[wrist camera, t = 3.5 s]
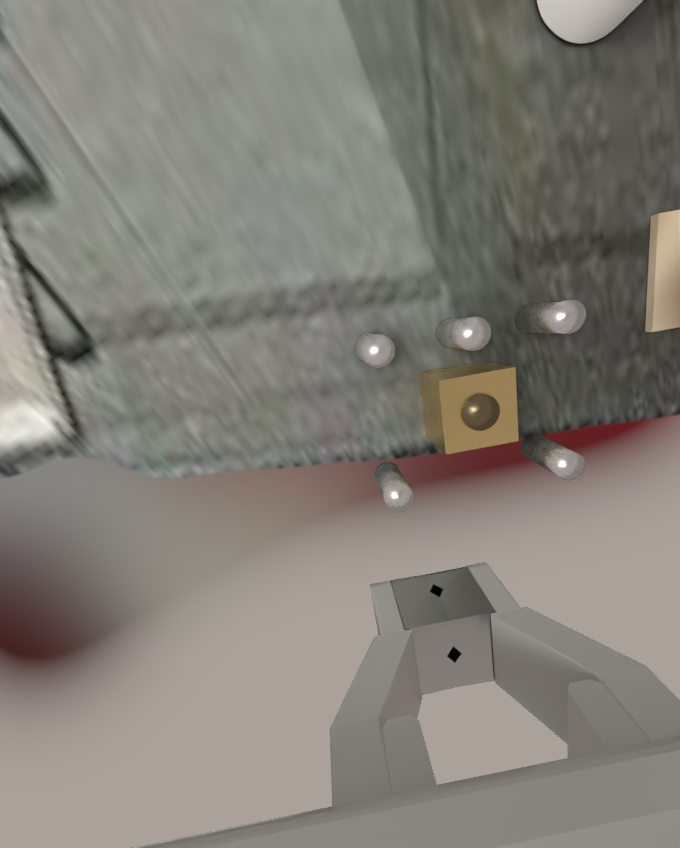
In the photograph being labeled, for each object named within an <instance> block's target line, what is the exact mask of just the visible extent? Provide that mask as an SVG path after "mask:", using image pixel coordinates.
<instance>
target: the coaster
mask: <svg viewBox="0 0 680 848" xmlns="http://www.w3.org/2000/svg"><path fill="white" fill-rule="evenodd" d="M678 327H680V210H675V211H670V212H664V213H658V214H655V215H652V216H651V222H650V243H649V263H648V284H647V304H646V325H645V332H656V331H661V330H667V329H673V328H678Z"/></svg>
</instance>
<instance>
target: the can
mask: <svg viewBox="0 0 680 848" xmlns="http://www.w3.org/2000/svg"><path fill="white" fill-rule="evenodd" d="M642 1H643V0H537V4H538V9H539V12H540V15H541V18H542V20H543V22H544V23H545V25H546V26H547V27H548V28H549V29H550V31H552V32H553V33H554V34H555V35H557V36H558V37H560V38H561V39H563V40H565V41H568V42H572V43H580V44H582V43H590V42H593V41H596V40H598V39H601V38H602V37H604V36H606V35H607V34H609V33H610V32H611V31H612V30H613V29H615V28H616V27H617V26H618V25H619V24H620V23H621V22H622V21H623V20H624V19H625V18H626V17H627V16H628V15H629V14H630V13H631V12H632V11H633V10H634V9H635V8H636V7H637V6H638V5H639V4H640V3H641V2H642Z"/></svg>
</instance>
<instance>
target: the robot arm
mask: <svg viewBox="0 0 680 848" xmlns="http://www.w3.org/2000/svg"><path fill="white" fill-rule="evenodd" d="M370 588H371V594H372V600H373V605H374V612H375V618H376V624H377V629H378V635H379V636H375V637H374V639H373V641H372V643H371V645H370V647H369V649H368V651H367V653H366V656H365V658H364V659H363V662H362V664H361V666H360V668H359V670H358V672H357V674H356V676H355V678H354V680H353V682H352V684H351V686H350V688H349V690H348V692H347V694H346V696H345V698H344V700H343V703H342V704H341V707H340V709H339V711H338V713H337V715H336V717H335V719H334V721H333V723H332V725H331V727H330V750H331V780H332V807H328V808H323V809H318V810H313V811H308V812H303V813H298V814H294V815H289V816H284V817H279V818H274V819H269V820H265V821H259V822H255V823H250V824H245V825H240V826H235V827H230V828H225V829H221V830H216V831H211V832H206V833H201V834H196V835H191V836H187V837H182V838H177V839H172V840H167V841H163V842H158V843H153V844H148V845H143V846H138V847H133V848H680V700H679V699H678V698H677V697H676V696H675V695H674V694H673V693H672V692H671V691H670V690H669V689H668V688H667V687H666V686H665V685H664V684H663V683H662V682H661V681H660V680H659V679H658V678H657V677H656V676H655V674H654V673H653V672H651V670H649V668H648V667H647V666H645V665H643V664H641V663H639V662H637V661H635V660H633V659H631V658H629V657H627V656H625V655H623V654H621V653H619V652H617V651H615V650H613V649H611V648H609V647H607V646H605V645H603V644H601V643H598V642H596V641H595V640H592V639H591V638H588V637H587V636H584V635H582V634H580V633H578V632H576V631H574V630H572V629H570V628H568V627H566V626H564V625H562V624H560V623H558V622H556V621H554V620H552V619H550V618H548V617H546V616H544V615H542V614H540V613H538V612H536V611H534V610H532V609H530V608H528V607H523V608H520V607H519V605H518V604H517V603H516V601H515V600H514V599H513V597H512V596H511V595H510V593H509V592H508V591H507V589H505V587H504V585H503V584H502V583H501V581H500V580H499V579H498V577H497V576H496V575H495V573H494V572H493V571H492V569H490V567H489V565H488V564H486V563H484V562H483V563H478V564H474V565H469V566H465V567H462V568H458V569H452V570H448V571H442V572H437V573H432V574H426V575H420V576H414V577H408V578H402V579H396V580H390V582H389V581H385V582H381V583H374V584H370ZM489 681H495V682H496V684H498V685H499V686H500V687H501V688H502V689H503V690H505V691H506V692H507V693H508V694H509V695H511V696H512V697H513V698H514V699H515V700H516V701H518V702H519V703H520V704H521V705H522V706H523V707H525V708H526V709H527V710H528V711H529V712H530V713H532V714H533V715H534V716H535V717H537V718H538V719H539V720H540V721H541V722H542V723H544V724H545V725H546V726H547V727H548V728H549V729H550V730H552V731H553V732H554V733H555V734H556V735H558V736H559V737H560V738H561V739H562V740H563V741H565V742H566V743H567V744H568V758H567V759H562V760H557V761H552V762H547V763H542V764H537V765H532V766H528V767H522V768H518V769H513V770H508V771H503V772H499V773H493V774H489V775H484V776H478V777H474V778H469V779H464V780H460V781H454V782H449V783H444V784H439V785H437V784H436V781H435V777H434V773H433V770H432V767H431V763H430V759H429V755H428V752H427V748H426V745H425V741H424V737H423V734H422V730H421V727H420V723H419V720H417V717H418V713H419V708H420V704H421V700H422V695H424V694H429V693H433V692H437V691H441V690H446V689H450V688H454V687H459V686H465V685H471V684H477V683H483V682H489Z"/></svg>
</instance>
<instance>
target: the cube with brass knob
mask: <svg viewBox="0 0 680 848" xmlns="http://www.w3.org/2000/svg"><path fill="white" fill-rule="evenodd" d="M419 377H420V386H421V395H422V404H423V413H424V422H425V431H426V436H427V437H428V438H429V439H430V440H431V441H432V442H433V443H434V444H435V445H436V446H437V447H438V448H439V449H440V450H441V451H443V452H444V453H445V454H451V453H457V452H462V451H467V450H473V449H478V448H484V447H489V446H494V445H500V444H505V443H511V442H516V441H519V438H518V415H517V391H516V368H515V367H513V366H507V365H502V364H497V363H491V362H486V361H482V362H477V363H471V364H466V365H460V366H454V367H449V368H443V369H438V370H432V371H427V372H421V373H419Z"/></svg>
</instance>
